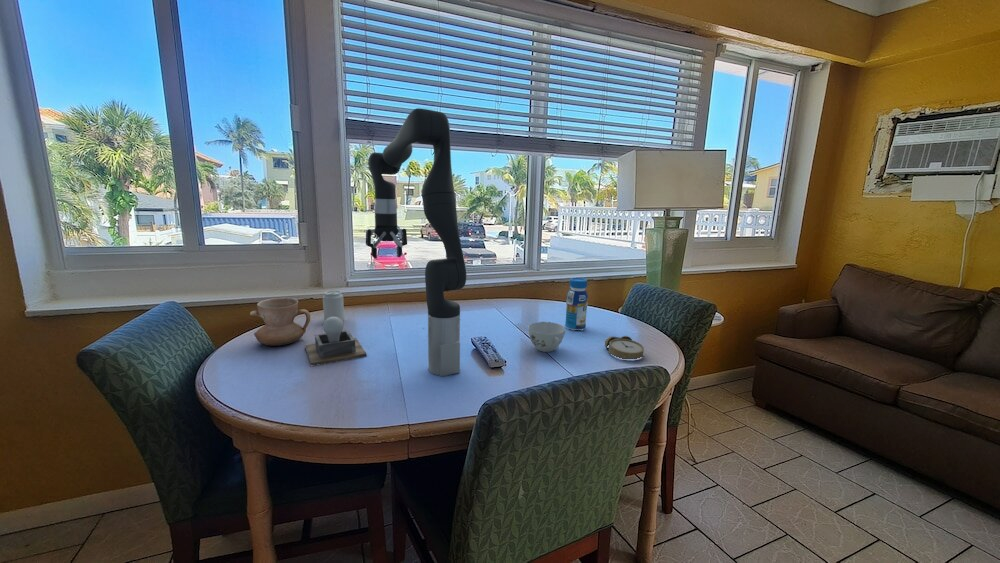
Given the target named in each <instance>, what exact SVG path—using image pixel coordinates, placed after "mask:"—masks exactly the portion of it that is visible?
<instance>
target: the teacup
mask: <svg viewBox="0 0 1000 563" xmlns="http://www.w3.org/2000/svg"><path fill="white" fill-rule="evenodd" d="M527 328H528V336H529V339H530V341H531V343H532V344H533V346H534V347H535V348H536V349H537V350H538V351H540V352H544V353H550V352H554V351H556V350H558V349H559V348H560V344H562V342H563V339H564V338H565V337H564V336H565V334H566V327H565V325H563V324H561V323H556V322H551V321H538V322H534V323H531V324H530V325H528V327H527Z"/></svg>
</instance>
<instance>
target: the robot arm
mask: <svg viewBox="0 0 1000 563" xmlns="http://www.w3.org/2000/svg"><path fill="white" fill-rule="evenodd" d="M415 143H418V144H423V145H428V146H429V145H430V146H432V148H433V162H432V166H431V169H430V171H429V173H428V175H427V176H426V179H425V181H424V183H423V185H422V188H421V196H422V206H423V208H422V209H423V213H424V216H425V218H426V220H427V222H428V223H429V225H430V226H431V227H432V228H433V230H434V231H435V232H436V234H437V235H438V237H439V238H440V240H441V242H442V244H443V247H444V250H445V256H446V258H439V259H438V258H437V259H430V260H429V261H428V262H427V263H426V266H425V270H424V280H425V281H424V282H425V295H426V296H425V299H426V306H427V346H428V347H427V348H428V349H427V354H428V356H427V358H428V372H429V373H431V374H433V375H435V376H436V375H437V376H439V377H445V376H450V375H454V374H459V373H460V372H461V341H460V339H461V338H460V337H461V333H460V332H461V307H460V304H459V303H458V302H456V301H454V300H449V299H446V298H445V294H444V292H450V291H457V290H462V289H464V287H465V286H466V282H467V268H466V262H465V257H464V252H463V248H462V244H461V242H462V241H461V239H460V238H461V237H460V231H459V224H458V215H457V202H456V193H455V188H454V181H453V171H452V170H453V169H452V157H451V156H452V155H451V153H452V152H451V127H450V122H449V118H448V116H447V115H446V114H445V113H443V112H442V111H437V110H433V109H427V108H414V109H413V110H411V112H410V113H409V114H408V116H406V119H405V120H404V122H403V123H402V125H401V127H400V129H399V131H398V133H397V134H396V136H395V138H394V139H393V140H392V141H391V142H390V143H389V144H387V146H386V147H385V148H384V149H383V151H382V152H376V151H375V152H372V153H370V155H369V157H368V159H367V166H368V169H369V172H370V175H371V179H372V182H373V186H374V210H373V211H374V229H372V228H366V229H365V246H367V247H370V248H371V249H370V250H371V257H372V258H373V259H378V254H377V252H378V250H377V246H379V244H380V243H381V241H382V242H387V241H388V242H392V241H393V242H394V243H395V244H396V257H397V258H401V257H402V256H403V247H404V246H406V245H408V237H407V236H408V235H407V229H406V228H404V227H402V228H398V208H397V207H398V206H397V199H396V198H397V197H396V196H397V194H396V191H397V190H396V184H395V183H394V182H392V181H389V180H386V179H385V178H384V177H383V175H389V176H392V175H394V176H395V175H396V174H398V173H399V172H400V171H401V167H402V166H403V164H404V163H405V162H406V161H407V160H408V159H409V158H410V157H411V156H412V154H413V144H415ZM398 234H400V236H401V240H400V239H399V238H398V237H397V235H398ZM373 235H375V236H376V237H375V238H374V240H373V242H372V236H373Z"/></svg>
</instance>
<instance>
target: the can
mask: <svg viewBox="0 0 1000 563" xmlns="http://www.w3.org/2000/svg"><path fill="white" fill-rule="evenodd" d="M323 294H324V295H323V296H322V310H323V319H324V321H325V320H326V319H327V318H329V317H338V318H340V319H341V320H342V321H344V320H345V308H344V307H345V306H344V305H345V304H344V295H343V294H342V292H341V291H340V290H329V291H325V292H324V293H323Z"/></svg>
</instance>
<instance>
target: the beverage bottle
mask: <svg viewBox="0 0 1000 563" xmlns="http://www.w3.org/2000/svg"><path fill="white" fill-rule="evenodd" d="M569 288H570V289H569V290H568V292H567V294H566V297H567V298H566V301H565V303H566V310H565V324H564V327H565V329H567V328H568V329H567V330H569V329H571V330H570V331H574V330H581V331H583V330H582V329H584V330H585V329H586V327H587V326H586V324H587V313H588V312H587V309H588V305H589V301H588V298H589V295H588V292H587V290H586V289H587V288H588V279H586V278H582V277H571V278H569Z"/></svg>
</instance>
